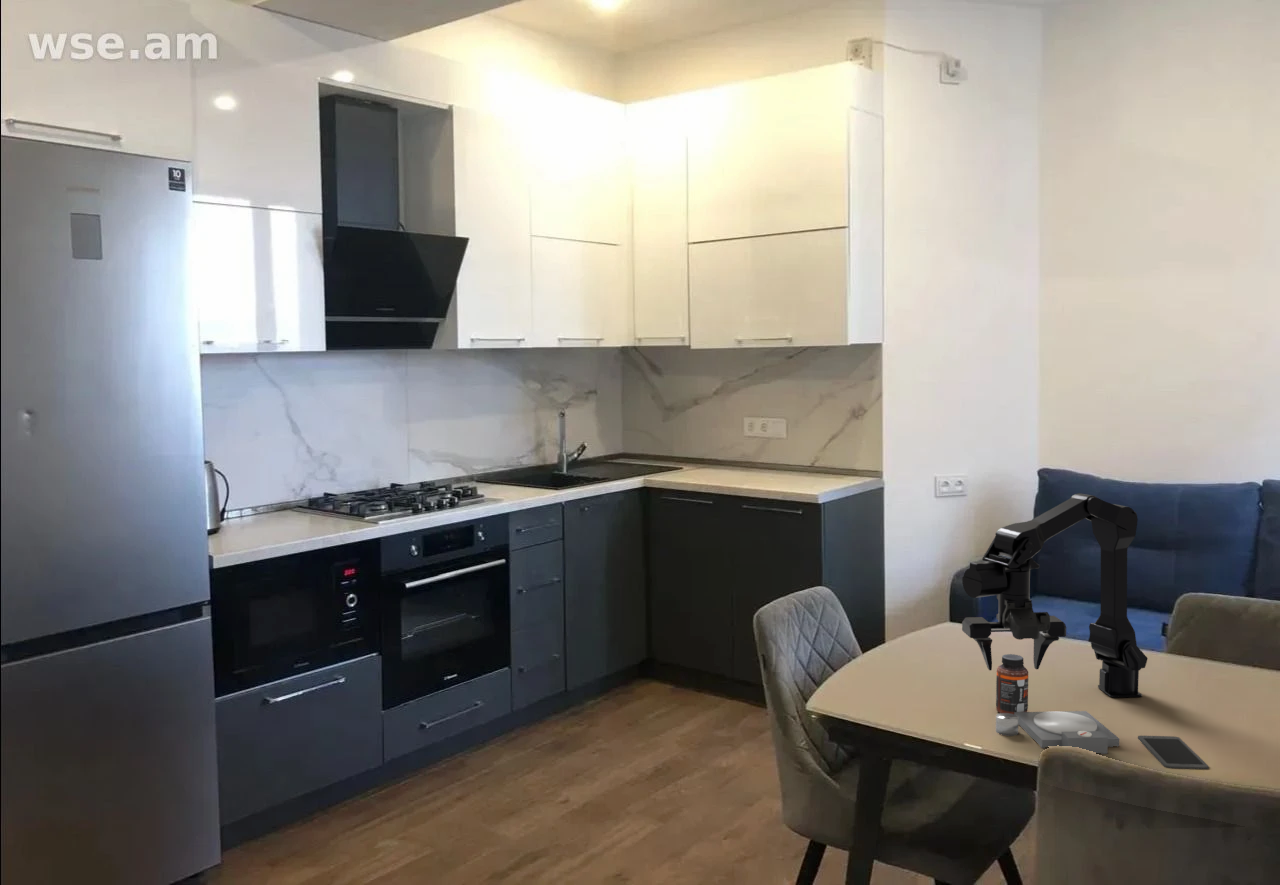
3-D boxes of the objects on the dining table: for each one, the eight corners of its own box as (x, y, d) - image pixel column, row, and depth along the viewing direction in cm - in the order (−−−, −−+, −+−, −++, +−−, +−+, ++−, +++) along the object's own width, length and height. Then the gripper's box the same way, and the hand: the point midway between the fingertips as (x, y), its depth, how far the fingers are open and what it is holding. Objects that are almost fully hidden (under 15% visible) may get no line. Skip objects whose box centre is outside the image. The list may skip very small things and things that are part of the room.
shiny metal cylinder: (1013, 728, 196) (1013, 712, 196) (1021, 736, 192) (1021, 720, 192) (992, 728, 196) (992, 713, 196) (1000, 736, 192) (1000, 720, 192)
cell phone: (1178, 740, 189) (1178, 736, 189) (1210, 771, 176) (1210, 767, 176) (1136, 738, 190) (1136, 734, 190) (1165, 770, 177) (1165, 766, 176)
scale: (1086, 718, 200) (1086, 701, 200) (1127, 753, 183) (1127, 735, 183) (1014, 719, 200) (1014, 703, 200) (1048, 754, 183) (1048, 736, 183)
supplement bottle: (1030, 718, 200) (1031, 662, 199) (998, 716, 202) (999, 660, 200) (1025, 707, 206) (1026, 652, 205) (994, 706, 207) (994, 651, 206)
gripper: (979, 603, 194) (978, 683, 195) (1079, 601, 193) (1077, 681, 195) (961, 589, 205) (960, 665, 206) (1055, 587, 205) (1054, 663, 206)
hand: (1012, 669), depth 203 cm, fingers open, 9 cm apart
